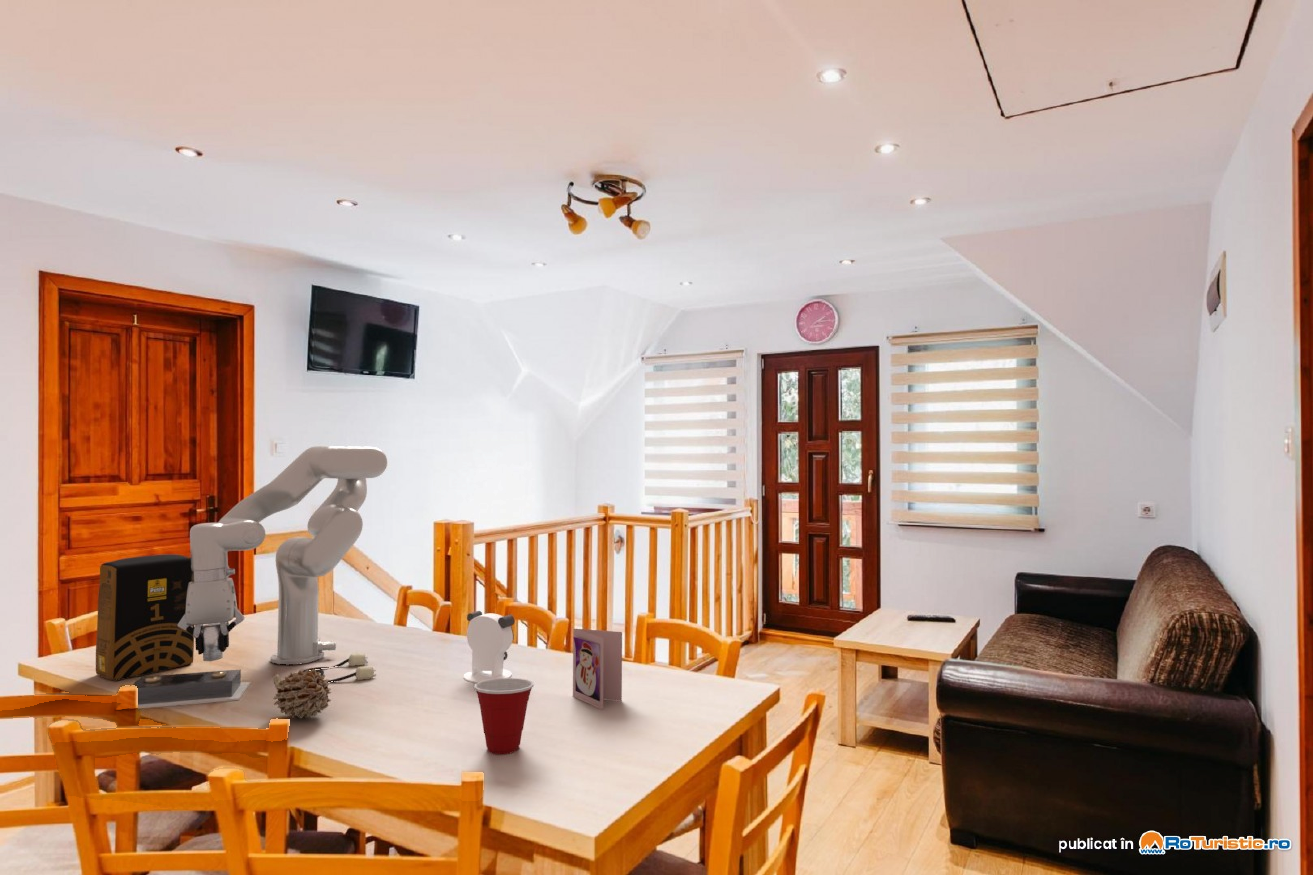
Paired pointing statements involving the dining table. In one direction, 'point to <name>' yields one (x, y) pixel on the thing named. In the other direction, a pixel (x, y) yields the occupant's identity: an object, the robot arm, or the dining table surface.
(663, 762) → the dining table surface
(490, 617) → the panda figurine
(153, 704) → the mat
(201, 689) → the gray slotted block
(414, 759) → the dining table surface
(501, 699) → the plastic cup
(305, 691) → the pine cone
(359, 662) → the cable
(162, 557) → the black product box
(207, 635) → the pin
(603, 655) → the greeting card
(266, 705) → the dining table surface
